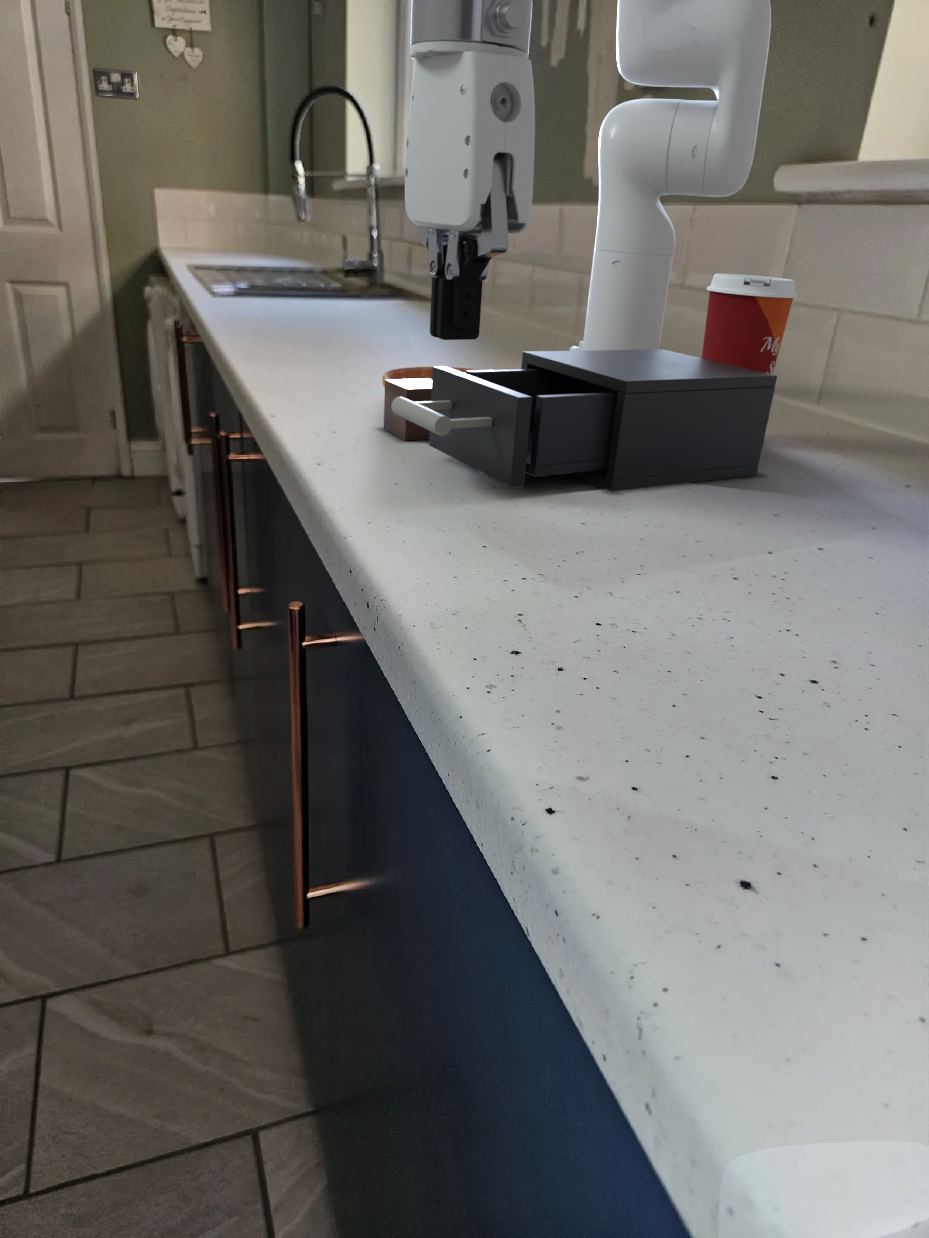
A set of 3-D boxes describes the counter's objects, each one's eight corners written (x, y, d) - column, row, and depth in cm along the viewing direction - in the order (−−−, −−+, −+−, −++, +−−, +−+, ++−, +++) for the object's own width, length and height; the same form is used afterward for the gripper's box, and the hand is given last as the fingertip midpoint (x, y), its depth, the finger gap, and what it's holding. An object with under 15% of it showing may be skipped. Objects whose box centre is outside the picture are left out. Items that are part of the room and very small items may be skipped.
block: (383, 429, 80) (384, 379, 79) (426, 426, 83) (428, 378, 81) (404, 441, 77) (406, 389, 75) (449, 437, 79) (452, 387, 77)
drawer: (450, 494, 60) (456, 400, 57) (374, 449, 70) (376, 367, 67) (664, 471, 69) (677, 390, 67) (570, 435, 79) (578, 362, 76)
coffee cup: (770, 451, 83) (807, 282, 76) (683, 441, 84) (711, 275, 78) (761, 432, 90) (793, 278, 84) (680, 424, 91) (706, 271, 85)
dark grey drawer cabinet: (611, 491, 67) (627, 381, 63) (513, 448, 77) (522, 351, 74) (756, 475, 74) (777, 375, 71) (649, 437, 85) (663, 349, 81)
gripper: (590, 30, 51) (556, 354, 59) (462, 54, 62) (449, 323, 70) (480, 9, 47) (460, 357, 55) (366, 39, 59) (363, 324, 67)
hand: (454, 337), depth 63 cm, fingers closed
